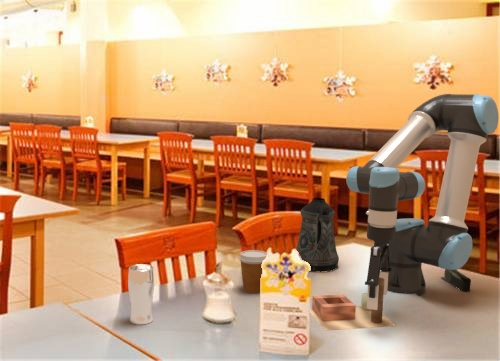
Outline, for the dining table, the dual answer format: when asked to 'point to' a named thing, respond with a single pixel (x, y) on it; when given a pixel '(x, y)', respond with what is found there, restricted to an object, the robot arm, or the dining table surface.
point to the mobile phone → (457, 279)
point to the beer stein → (318, 236)
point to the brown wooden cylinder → (377, 314)
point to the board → (354, 323)
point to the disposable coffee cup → (251, 269)
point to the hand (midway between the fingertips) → (377, 301)
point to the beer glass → (141, 293)
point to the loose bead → (364, 302)
